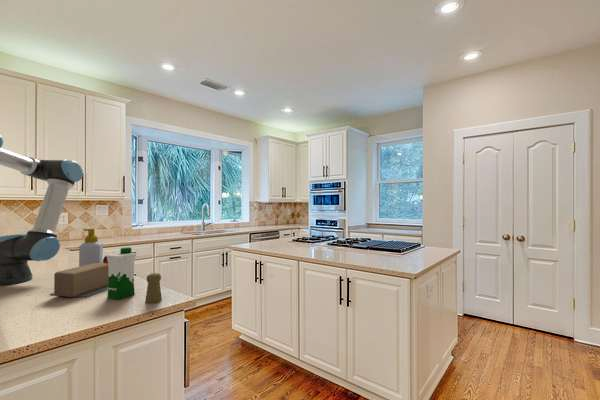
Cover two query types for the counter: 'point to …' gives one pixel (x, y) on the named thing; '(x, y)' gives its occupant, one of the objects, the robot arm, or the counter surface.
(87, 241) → the soap bottle
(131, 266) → the milk carton
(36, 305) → the counter surface
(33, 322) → the counter surface
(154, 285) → the olive peg figure
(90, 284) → the block
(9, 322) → the counter surface
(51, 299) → the counter surface
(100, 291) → the mat
